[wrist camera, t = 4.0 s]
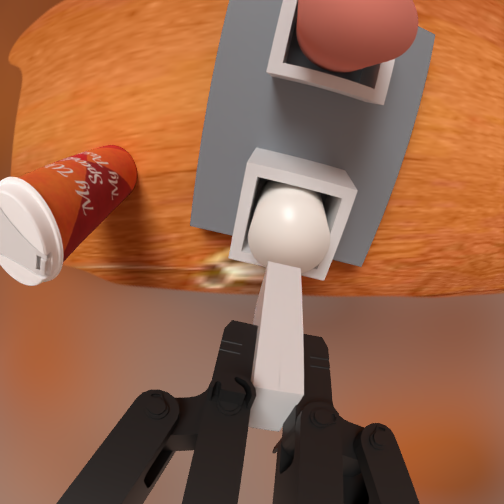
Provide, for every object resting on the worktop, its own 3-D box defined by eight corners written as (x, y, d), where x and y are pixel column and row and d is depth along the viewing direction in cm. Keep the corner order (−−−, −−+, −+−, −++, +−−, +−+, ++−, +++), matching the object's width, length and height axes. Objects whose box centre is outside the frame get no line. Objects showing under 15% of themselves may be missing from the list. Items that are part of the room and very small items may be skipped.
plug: (254, 220, 26) (241, 264, 20) (267, 163, 23) (257, 192, 17) (311, 233, 26) (316, 282, 20) (328, 179, 23) (341, 214, 17)
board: (199, 212, 29) (170, 254, 22) (241, -11, 18) (220, -46, 11) (356, 250, 29) (371, 301, 22) (421, 38, 18) (465, 26, 11)
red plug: (288, 60, 15) (287, 43, 9) (304, -7, 13) (310, -52, 7) (367, 83, 15) (406, 81, 9) (382, 16, 13) (424, -14, 7)
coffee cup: (159, 156, 27) (57, 224, 14) (131, 221, 31) (48, 310, 18) (95, 120, 25) (-21, 163, 12) (74, 186, 29) (-21, 252, 17)
